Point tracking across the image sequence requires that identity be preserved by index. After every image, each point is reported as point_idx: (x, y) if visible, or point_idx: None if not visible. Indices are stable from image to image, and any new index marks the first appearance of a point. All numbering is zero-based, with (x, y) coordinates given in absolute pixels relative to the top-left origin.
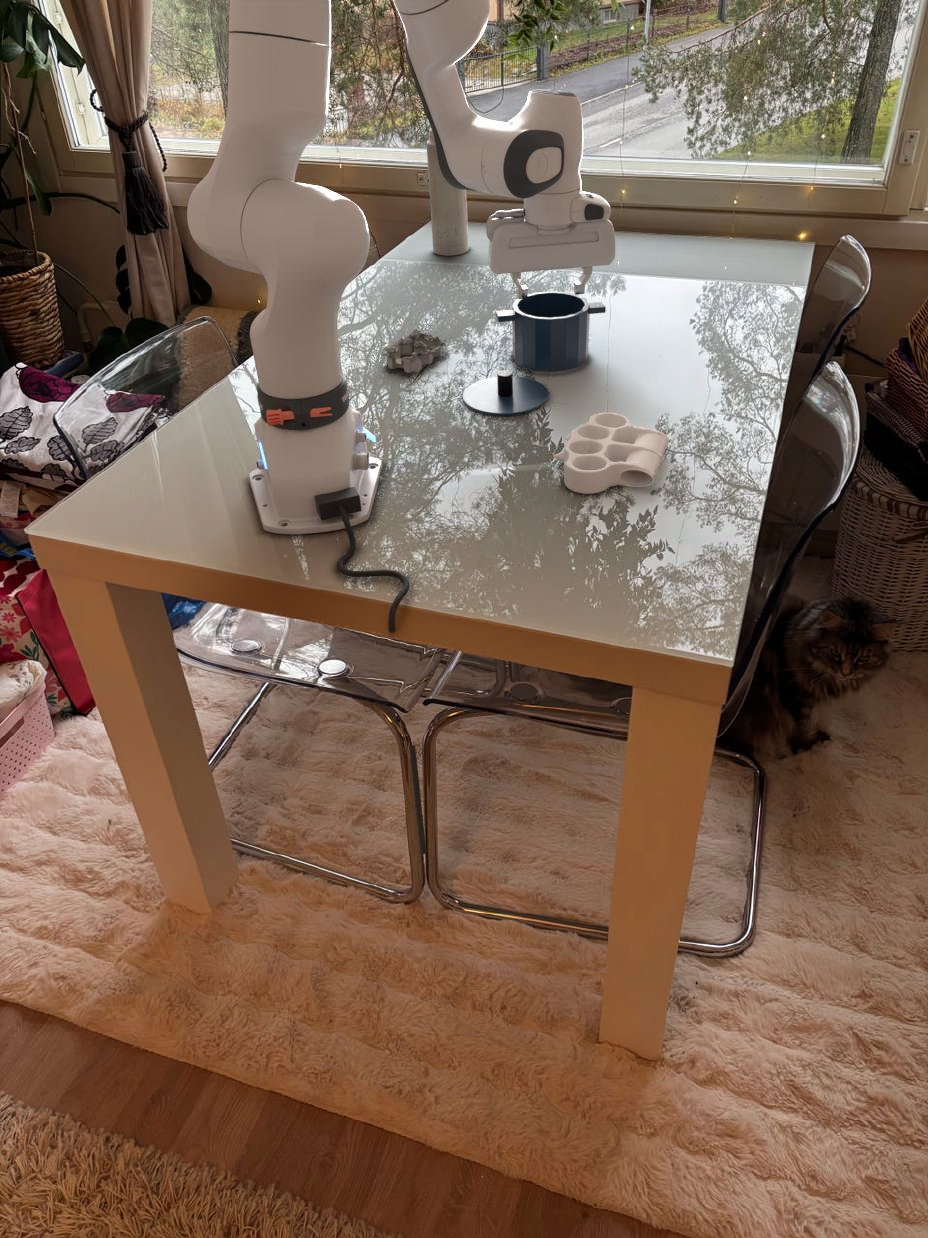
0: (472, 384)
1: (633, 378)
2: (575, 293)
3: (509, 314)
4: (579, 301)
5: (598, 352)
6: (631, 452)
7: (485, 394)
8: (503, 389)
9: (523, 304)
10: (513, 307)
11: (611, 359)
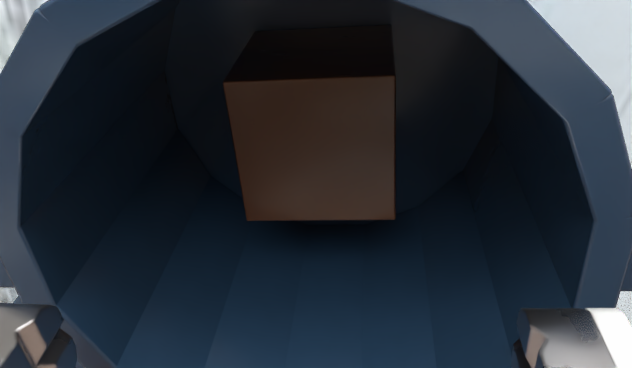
0: (19, 303)
1: (622, 308)
2: (513, 362)
3: (3, 274)
4: (573, 176)
5: (599, 43)
6: None
7: (79, 365)
8: None
9: (72, 76)
10: (2, 261)
11: (624, 136)
